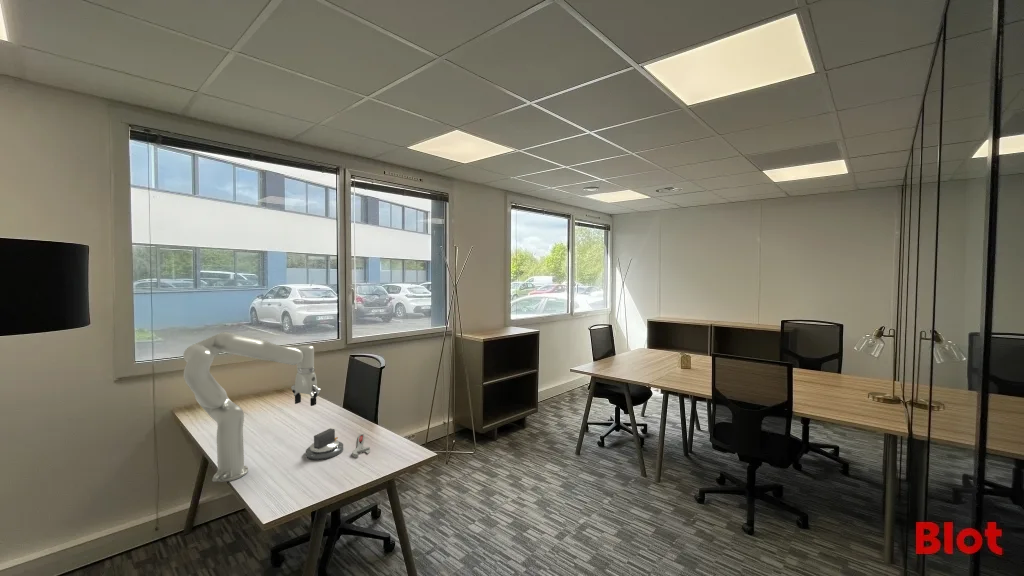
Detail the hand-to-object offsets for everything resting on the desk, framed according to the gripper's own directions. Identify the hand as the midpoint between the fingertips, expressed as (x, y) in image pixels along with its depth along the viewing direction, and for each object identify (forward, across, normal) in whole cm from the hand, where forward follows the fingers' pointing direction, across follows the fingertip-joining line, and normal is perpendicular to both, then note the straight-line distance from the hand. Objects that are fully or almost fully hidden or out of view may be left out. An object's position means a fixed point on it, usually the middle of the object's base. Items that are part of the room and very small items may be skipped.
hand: (305, 404), depth 199 cm
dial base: (+23, -11, -1) cm, 26 cm away
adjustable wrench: (+23, -24, -12) cm, 36 cm away
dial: (+21, -11, -1) cm, 24 cm away
